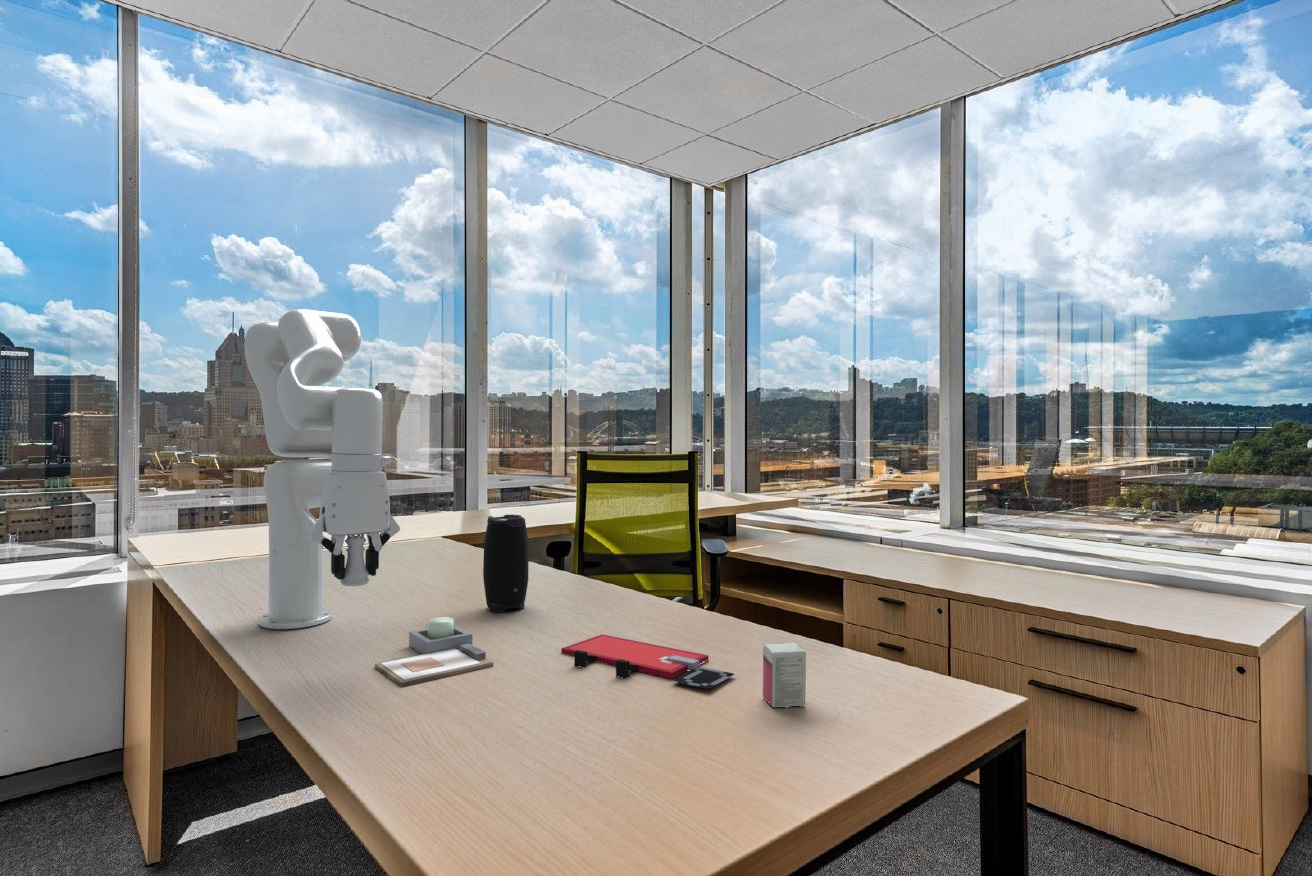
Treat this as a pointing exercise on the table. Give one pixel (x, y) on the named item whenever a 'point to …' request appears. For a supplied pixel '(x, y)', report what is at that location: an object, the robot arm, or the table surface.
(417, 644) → the button housing
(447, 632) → the button
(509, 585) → the portable speaker
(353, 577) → the rook chess piece
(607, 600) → the table surface
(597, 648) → the red board with handle
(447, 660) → the clipboard
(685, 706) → the table surface
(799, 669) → the small box
